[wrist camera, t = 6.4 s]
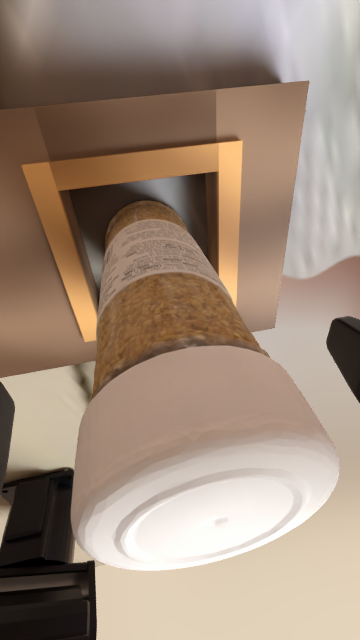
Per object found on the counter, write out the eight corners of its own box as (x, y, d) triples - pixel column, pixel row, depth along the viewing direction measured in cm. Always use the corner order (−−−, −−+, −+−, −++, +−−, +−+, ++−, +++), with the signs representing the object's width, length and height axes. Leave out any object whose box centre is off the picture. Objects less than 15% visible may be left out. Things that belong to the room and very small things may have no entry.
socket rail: (261, 310, 20) (276, 330, 18) (-154, 383, 17) (-187, 415, 15) (284, 85, 13) (313, 79, 11) (-413, 151, 10) (-534, 158, 8)
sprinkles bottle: (166, 290, 17) (248, 573, 6) (92, 263, 16) (31, 590, 5) (203, 220, 15) (412, 462, 4) (122, 179, 14) (139, 416, 3)
